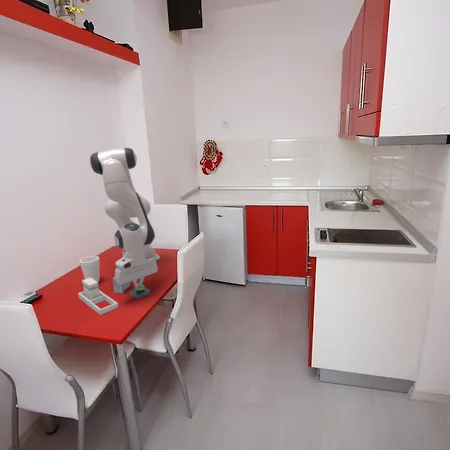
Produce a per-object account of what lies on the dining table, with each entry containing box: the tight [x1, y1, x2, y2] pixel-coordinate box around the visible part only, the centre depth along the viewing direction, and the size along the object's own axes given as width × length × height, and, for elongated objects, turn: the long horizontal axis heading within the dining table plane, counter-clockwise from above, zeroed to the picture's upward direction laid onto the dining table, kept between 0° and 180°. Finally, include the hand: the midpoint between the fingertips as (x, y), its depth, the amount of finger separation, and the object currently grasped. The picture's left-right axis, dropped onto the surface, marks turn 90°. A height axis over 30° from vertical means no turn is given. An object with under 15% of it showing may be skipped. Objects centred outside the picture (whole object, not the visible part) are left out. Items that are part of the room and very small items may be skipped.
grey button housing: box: [129, 287, 152, 300], centre depth 153 cm, size 7×7×3 cm
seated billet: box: [81, 278, 100, 300], centre depth 150 cm, size 4×8×9 cm, turn 45°
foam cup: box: [79, 255, 101, 283], centre depth 168 cm, size 10×9×13 cm
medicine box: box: [112, 276, 131, 294], centre depth 158 cm, size 8×4×9 cm, turn 168°
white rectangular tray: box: [77, 289, 119, 316], centre depth 147 cm, size 8×23×3 cm, turn 45°
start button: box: [134, 283, 146, 293], centre depth 152 cm, size 4×4×4 cm
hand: (138, 286), depth 151 cm, fingers closed, pressing on start button
